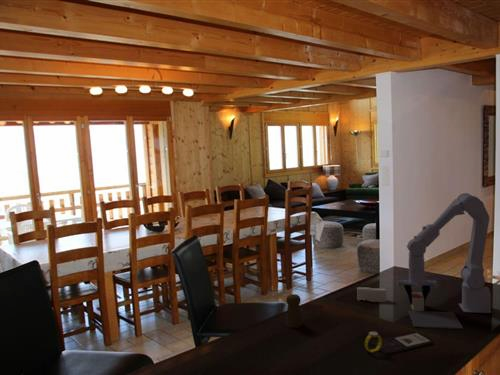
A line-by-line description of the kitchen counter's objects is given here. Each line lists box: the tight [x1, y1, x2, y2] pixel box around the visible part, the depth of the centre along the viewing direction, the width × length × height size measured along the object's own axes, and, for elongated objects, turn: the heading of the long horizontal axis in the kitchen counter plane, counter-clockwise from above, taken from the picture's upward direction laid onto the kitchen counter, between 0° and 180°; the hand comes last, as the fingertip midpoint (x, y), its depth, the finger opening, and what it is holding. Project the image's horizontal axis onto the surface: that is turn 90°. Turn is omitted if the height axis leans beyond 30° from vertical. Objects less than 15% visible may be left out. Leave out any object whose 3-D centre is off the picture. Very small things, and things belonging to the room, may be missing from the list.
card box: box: [410, 291, 425, 311], centre depth 170 cm, size 4×7×5 cm, turn 168°
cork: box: [285, 293, 304, 329], centre depth 160 cm, size 6×6×11 cm
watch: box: [364, 331, 383, 354], centre depth 137 cm, size 6×3×6 cm, turn 114°
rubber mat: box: [407, 310, 464, 330], centre depth 157 cm, size 16×14×1 cm
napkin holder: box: [356, 286, 387, 303], centre depth 180 cm, size 15×11×6 cm
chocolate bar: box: [368, 331, 434, 356], centre depth 141 cm, size 9×1×18 cm
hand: (417, 304), depth 170 cm, fingers closed on card box, 4 cm apart
